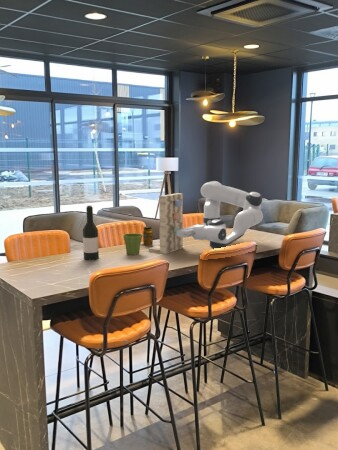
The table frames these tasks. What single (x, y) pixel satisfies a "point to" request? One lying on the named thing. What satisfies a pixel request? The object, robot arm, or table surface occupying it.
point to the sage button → (175, 229)
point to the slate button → (177, 203)
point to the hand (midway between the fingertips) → (178, 230)
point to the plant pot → (132, 243)
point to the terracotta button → (176, 216)
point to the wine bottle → (90, 237)
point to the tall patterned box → (169, 224)
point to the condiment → (147, 237)
